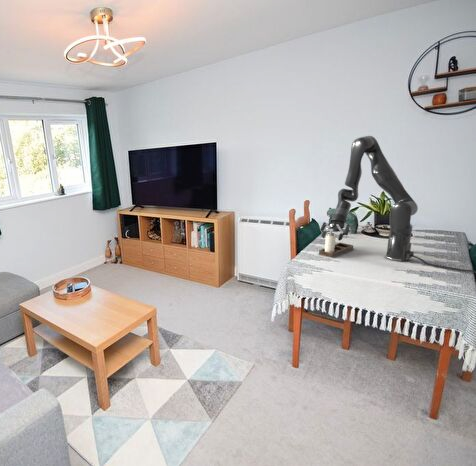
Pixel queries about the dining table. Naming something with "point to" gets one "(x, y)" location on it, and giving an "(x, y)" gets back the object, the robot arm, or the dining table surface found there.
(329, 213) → the ceramic cat
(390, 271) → the dining table surface
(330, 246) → the dispenser
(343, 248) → the tray
